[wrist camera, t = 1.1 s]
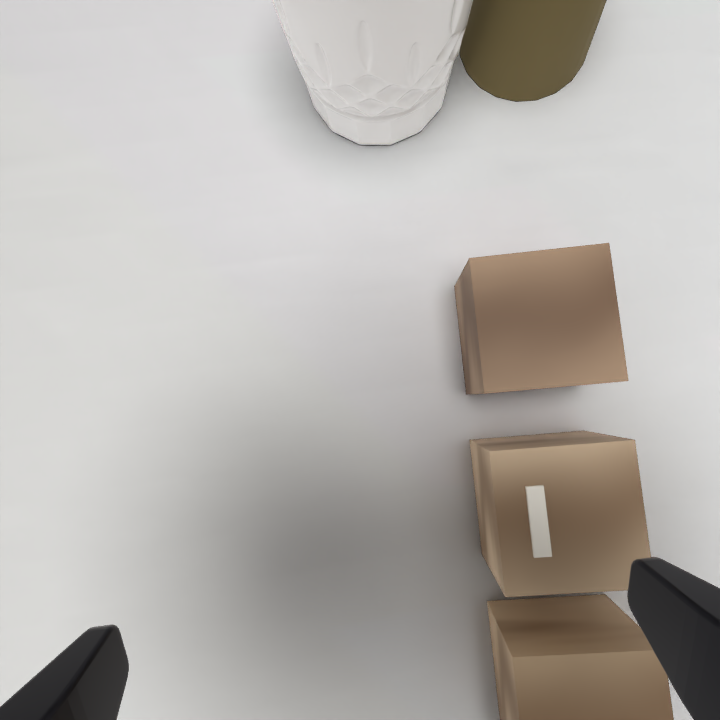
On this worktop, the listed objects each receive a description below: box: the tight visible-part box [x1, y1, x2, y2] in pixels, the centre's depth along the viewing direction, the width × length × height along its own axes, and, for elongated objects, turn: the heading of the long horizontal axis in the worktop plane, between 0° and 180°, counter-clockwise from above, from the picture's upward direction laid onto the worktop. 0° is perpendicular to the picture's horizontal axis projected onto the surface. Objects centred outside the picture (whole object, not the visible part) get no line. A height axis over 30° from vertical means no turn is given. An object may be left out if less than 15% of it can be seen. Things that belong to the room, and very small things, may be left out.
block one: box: [487, 594, 674, 720], centre depth 18 cm, size 5×5×5 cm
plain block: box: [454, 243, 628, 394], centre depth 19 cm, size 5×5×4 cm
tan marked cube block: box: [470, 431, 651, 597], centre depth 18 cm, size 5×5×5 cm
